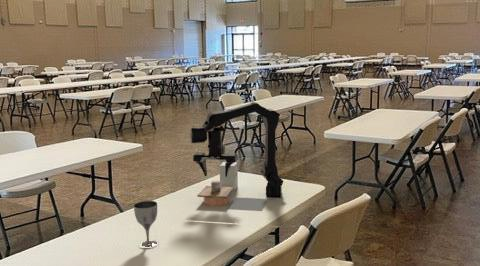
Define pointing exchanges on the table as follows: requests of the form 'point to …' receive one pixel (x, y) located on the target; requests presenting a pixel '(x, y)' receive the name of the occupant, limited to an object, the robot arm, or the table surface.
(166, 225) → the table surface
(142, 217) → the wine glass
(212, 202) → the bowl
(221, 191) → the lid
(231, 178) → the supplement box
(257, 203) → the mat
